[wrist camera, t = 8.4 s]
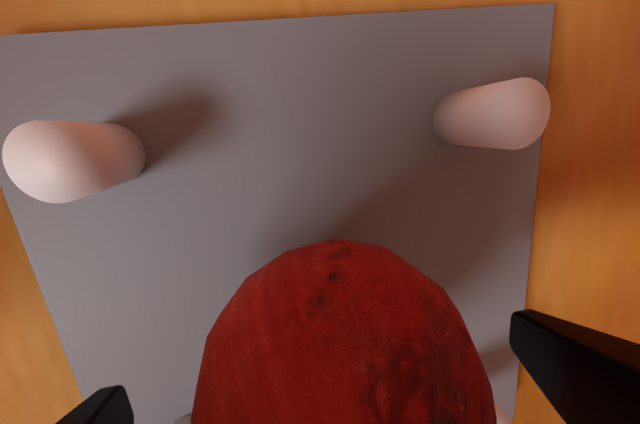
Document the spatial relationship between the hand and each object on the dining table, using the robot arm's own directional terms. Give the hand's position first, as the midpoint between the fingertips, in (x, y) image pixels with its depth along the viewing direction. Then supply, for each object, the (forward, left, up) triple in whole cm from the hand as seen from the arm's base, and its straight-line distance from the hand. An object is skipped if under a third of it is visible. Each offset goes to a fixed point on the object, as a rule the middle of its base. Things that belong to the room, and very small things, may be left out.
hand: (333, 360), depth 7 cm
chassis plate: (0, 0, -5) cm, 5 cm away
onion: (0, 0, -4) cm, 4 cm away
